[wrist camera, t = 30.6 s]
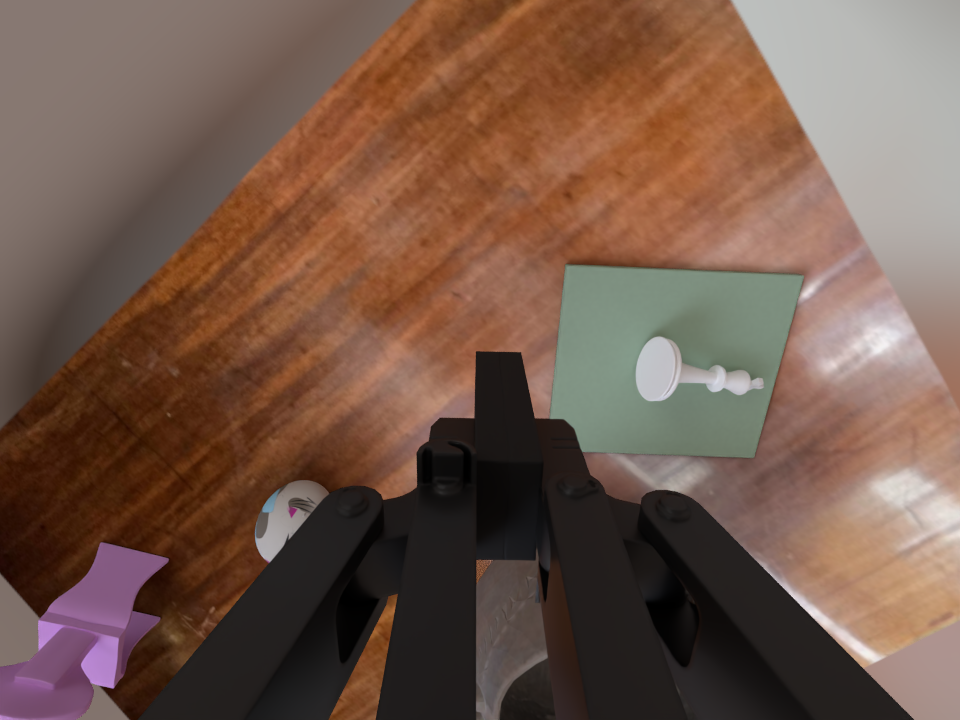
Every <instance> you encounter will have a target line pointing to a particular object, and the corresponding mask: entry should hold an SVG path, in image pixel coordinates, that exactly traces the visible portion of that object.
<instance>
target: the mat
mask: <svg viewBox="0 0 960 720" xmlns="http://www.w3.org/2000/svg"><path fill="white" fill-rule="evenodd" d="M803 278H804V276H803V275H801V274H784V273H761V272H738V271H715V270H691V269H668V268H645V267H622V266H598V265H575V264H566V265H565V274H564V283H563V293H562V302H561V312H560V322H559V331H558V341H557V350H556V360H555V369H554V379H553V388H552V398H551V408H550V417H549V419H564V420H565V421H566V422H568V423H569V424H570V425H571V426H572V427H573V428H574V429H575V432H576V435H577V438H578V441H579V444H580V449H581V450H582V452H600V453H628V454H656V455H684V456H712V457H740V458H754V456H755V452H756V449H757V445H758V442H759V438H760V434H761V431H762V427H763V423H764V420H765V416H766V413H767V409H768V405H769V402H770V398H771V394H772V391H773V387H774V384H775V380H776V376H777V373H778V369H779V365H780V362H781V358H782V355H783V351H784V347H785V344H786V340H787V336H788V333H789V329H790V326H791V322H792V318H793V315H794V311H795V307H796V304H797V300H798V297H799V293H800V289H801V286H802V282H803ZM658 336H661V337H664V338H666V339H670V340H672V341H673V342H674V343H675V344H676V345H677V346H678V348H679V350H680V353H681V358H682V363H684V364H687V365H690V366H694V367H697V368H700V369H704V370H707V371H708V370H709V369H710V368H711V367H712V366H714V365H720V366H721V367H723V368H724V369H725V370H726V372H732V371H736V370H744V371H746V372H747V373H748V374H749V375H750V379H751V380H754V379H756V378H763V382H764V388H762V389H755V388H753V389H751V390H749V391H747V392H746V393H745V394H743V395H736V394H734V393H732V392H731V391H729V390H728V389H725V388H723V389H722V390H720V391H718V392H711V391H710V390H709V389H708V388H707V386H706V383H678V385H677V387H676V389H675V391H674V392H673V393H672V394H671V395H670V396H669V397H668V398H667V399H665V400H662V401H648V400H646V399H644V398H643V397H642V396H641V394H640V393H639V390H638V388H637V384H636V365H637V361H638V358H639V355H640V353H641V351H642V349H643V347H644V346H645V344H646V343H647V342H648V341H649V340H651V339H652V338H654V337H658Z"/></svg>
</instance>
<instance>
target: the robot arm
mask: <svg viewBox="0 0 960 720" xmlns="http://www.w3.org/2000/svg"><path fill="white" fill-rule="evenodd" d="M536 550H537V551H538V557H539V562H538V574H537V585H536V597H535V603H540V602H541V610H542V617H543V625H544V632H545V640H546V647H547V655H548V662H549V670H550V678H551V685H552V693H553V700H554V708H555V715H556V720H688V718H687V715H686V712H685V710H684V707H683V704H682V701H681V699H680V696H679V693H678V690H677V688H676V685H677V687H678V689H679V690H680V692H681V694H682V695H683V697H684V698H685V700H686V702H687V703H688V705H689V706H690V708H691V710H692V711H693V713H694V715H695V716H696V718H697V719H698V720H914V719H913V718H912V717H911V716H910V715H909V714H908V713H907V712H906V711H905V710H904V709H903V708H902V707H901V706H900V705H899V704H898V703H897V702H896V701H895V700H894V699H893V698H892V697H891V696H890V695H889V694H888V693H887V692H886V691H885V690H884V689H883V688H882V687H881V686H880V685H879V684H878V683H877V682H876V681H875V680H874V679H873V678H872V677H871V676H870V675H869V674H868V673H867V672H866V671H865V670H864V669H863V668H862V667H861V666H860V665H859V664H858V663H857V662H856V661H855V660H854V659H853V658H852V657H851V656H850V655H849V654H848V653H847V652H846V651H845V650H844V649H843V648H842V647H841V646H840V645H839V644H838V643H837V642H836V641H835V640H834V639H833V638H832V637H831V636H830V635H829V634H828V633H827V632H826V631H825V630H824V629H823V628H822V627H821V626H820V625H819V624H818V623H817V622H816V621H815V620H814V619H813V618H812V617H811V616H810V615H809V614H808V613H807V612H806V611H805V610H804V609H803V608H802V607H801V606H800V605H799V604H798V603H797V602H796V601H795V599H794V598H793V597H792V596H791V595H790V594H789V593H788V592H787V591H786V590H785V589H784V588H783V587H782V586H781V585H780V584H779V583H778V582H777V581H776V580H775V579H774V578H773V577H772V576H771V575H770V574H769V573H768V572H767V571H766V570H765V569H764V568H763V567H762V566H761V565H760V564H759V563H758V562H757V561H756V560H755V559H754V558H753V557H752V556H751V555H750V554H749V553H748V552H747V551H746V550H745V549H744V548H743V547H742V546H741V545H740V544H739V543H738V542H737V541H736V540H735V539H734V538H733V537H732V536H731V535H730V534H729V533H728V532H727V531H726V530H725V529H724V528H723V527H722V526H721V525H720V524H719V523H718V522H717V521H716V520H715V519H714V518H713V517H712V516H711V515H710V514H709V513H708V512H707V511H706V510H705V509H704V508H703V507H702V506H701V505H700V504H699V503H697V502H696V501H695V500H693V499H692V498H690V497H688V496H686V495H684V494H681V493H678V492H675V491H669V490H655V491H652V492H649V493H647V494H646V495H645V496H643V497H642V500H641V505H639V504H635V503H631V502H626V501H622V500H619V499H615V498H613V497H611V496H609V495H606V493H605V490H604V487H603V486H602V485H601V483H600V482H599V481H598V480H597V479H595V478H594V477H592V476H591V475H590V473H589V470H588V468H587V465H586V462H585V459H584V456H583V453H582V450H581V449H580V444H579V441H578V438H577V435H576V432H575V429H574V428H573V427H572V426H571V425H570V424H569V423H568V422H566V421H565V420H564V419H537V418H535V417H534V413H533V408H532V403H531V398H530V393H529V389H528V384H527V379H526V374H525V369H524V365H523V360H522V355H521V352H480V351H476V374H475V416H474V418H439V419H438V420H437V421H436V422H435V423H434V424H433V425H432V426H431V431H430V437H429V442H426V443H425V444H423V445H422V446H421V447H420V448H419V450H418V451H417V488H415V489H414V490H413V491H411V492H410V493H407V494H405V495H403V496H400V497H396V498H392V499H387V500H383V499H382V496H381V494H380V493H378V492H377V491H376V490H375V489H372V488H369V487H366V486H349V487H344V488H340V489H338V490H336V491H333V492H331V493H330V494H329V495H327V496H326V497H325V498H324V499H323V500H322V501H321V502H320V503H319V504H318V506H317V507H316V508H315V509H314V510H313V512H312V513H311V514H310V515H309V516H308V518H307V519H306V520H305V521H304V522H303V524H302V525H301V526H300V527H299V528H298V529H297V531H296V532H295V533H294V534H293V535H292V537H291V538H290V539H289V540H288V541H287V543H286V544H285V545H284V546H283V547H282V549H281V550H280V551H279V552H278V553H277V555H276V556H275V557H274V558H273V559H272V560H271V562H270V563H269V564H268V565H267V566H266V568H265V569H264V570H263V571H262V572H261V574H260V575H259V576H258V577H257V578H256V580H255V581H254V582H253V583H252V584H251V586H250V587H249V588H248V589H247V590H246V591H245V593H244V594H243V595H242V596H241V597H240V599H239V600H238V601H237V602H236V603H235V605H234V606H233V607H232V608H231V609H230V611H229V612H228V613H227V614H226V615H225V617H224V618H223V619H222V620H221V621H220V622H219V624H218V625H217V626H216V627H215V628H214V630H213V631H212V632H211V633H210V634H209V636H208V637H207V638H206V639H205V640H204V642H203V643H202V644H201V645H200V646H199V648H198V649H197V650H196V651H195V652H194V653H193V655H192V656H191V657H190V658H189V659H188V661H187V662H186V663H185V664H184V665H183V667H182V668H181V669H180V670H179V671H178V673H177V674H176V675H175V676H174V677H173V678H172V680H171V681H170V682H169V683H168V684H167V686H166V687H165V688H164V689H163V690H162V692H161V693H160V694H159V695H158V696H157V698H156V699H155V700H154V701H153V702H152V704H151V705H150V706H149V707H148V708H147V709H146V711H145V712H144V713H143V714H142V715H141V717H140V718H139V719H138V720H328V719H329V717H330V715H331V713H332V711H333V709H334V707H335V705H336V703H337V701H338V699H339V697H340V695H341V693H342V691H343V689H344V687H345V685H346V683H347V681H348V680H349V678H350V676H351V674H352V672H353V670H354V668H355V666H356V664H357V662H358V660H359V658H360V656H361V654H362V652H363V650H364V648H365V646H366V644H367V642H368V640H369V638H370V636H371V634H372V632H373V630H374V628H375V626H376V624H377V622H378V620H379V618H380V616H381V614H382V612H383V610H384V608H385V606H386V603H387V599H388V596H391V595H395V594H398V597H397V603H396V608H395V614H394V620H393V625H392V631H391V637H390V642H389V648H388V654H387V659H386V665H385V671H384V676H383V682H382V687H381V693H380V699H379V704H378V710H377V716H376V720H476V560H528V561H536ZM675 684H676V685H675Z"/></svg>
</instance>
